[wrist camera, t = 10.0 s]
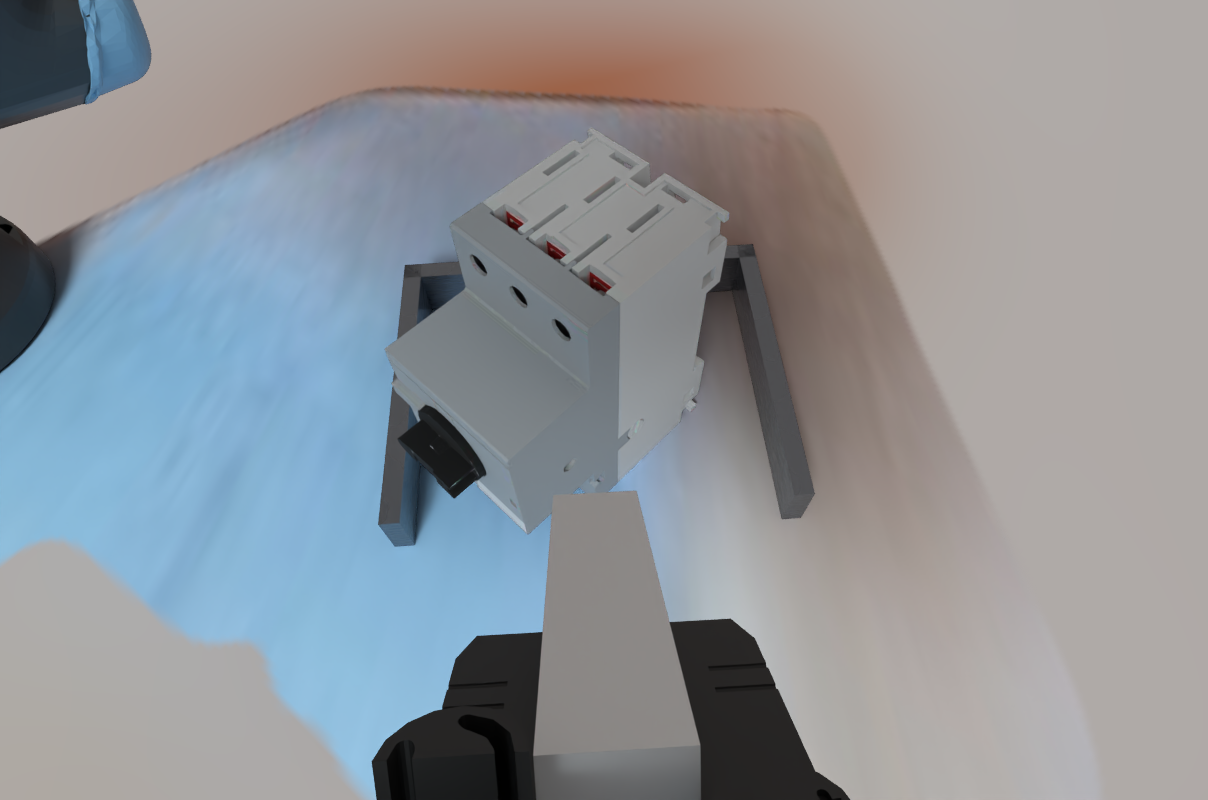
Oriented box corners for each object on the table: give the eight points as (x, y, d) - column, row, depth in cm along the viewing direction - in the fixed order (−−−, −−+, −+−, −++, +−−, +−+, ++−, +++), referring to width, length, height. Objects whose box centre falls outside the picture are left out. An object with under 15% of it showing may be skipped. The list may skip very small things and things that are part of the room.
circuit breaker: (416, 490, 38) (315, 315, 25) (601, 335, 43) (595, 124, 30) (510, 586, 35) (451, 443, 22) (695, 407, 40) (733, 209, 28)
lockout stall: (417, 295, 45) (405, 262, 42) (744, 275, 45) (752, 241, 43) (394, 546, 36) (378, 524, 34) (800, 517, 37) (814, 493, 34)
